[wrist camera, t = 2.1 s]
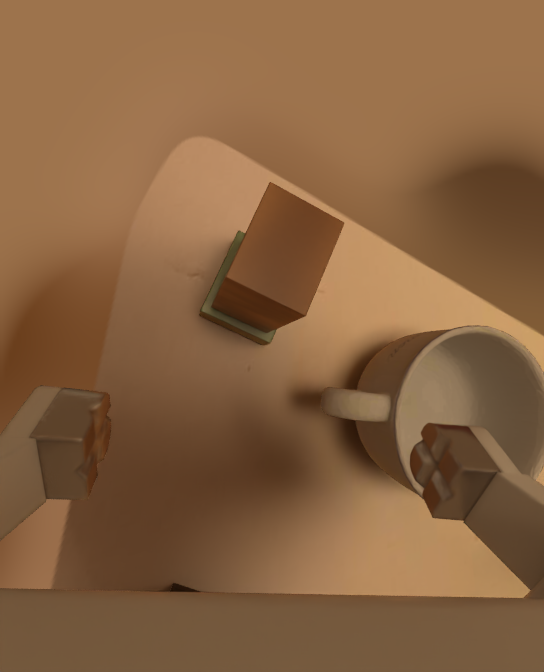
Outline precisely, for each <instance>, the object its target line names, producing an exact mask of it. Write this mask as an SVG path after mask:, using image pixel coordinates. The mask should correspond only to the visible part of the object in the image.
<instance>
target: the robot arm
mask: <svg viewBox="0 0 544 672" xmlns="http://www.w3.org/2000/svg"><path fill="white" fill-rule="evenodd" d="M110 406H111V404H110V395H109V394H108V393H106V392H98V391H89V390H80V389H71V388H59V387H50V386H39V387H37V388H35V390H34V391H33V392H32V393H31V395H30V396H29V397H28V399H27V400H26V401H25V402H24V404H23V405H22V407H21V408H20V409H19V410H18V412H17V413H16V414H15V416H14V417H13V418H12V420H11V421H10V422H9V424H8V425H7V426H6V428H5V429H4V430H3V432H2V433H1V434H0V540H2V539H3V538H4V537H5V536H6V535H7V534H9V533H10V532H11V531H12V530H13V529H14V528H16V527H17V526H18V525H19V524H20V523H21V522H23V521H24V520H25V519H26V518H27V517H28V516H30V515H31V514H32V513H33V512H34V511H35V510H37V509H38V508H39V507H40V506H41V505H43V504H44V503H45V502H46V499H69V500H88V498H89V496H90V493H91V491H92V488H93V486H94V483H95V481H96V478H97V476H98V471H97V464H98V463H100V462H101V461H103V460H104V458H105V455H106V453H107V450H108V446H109V442H110V438H111V419H110V418H109V417H108V416H107V413H108V411H109V409H110ZM421 436H422V439H423V440H421V441H420V442H418V443H417V444H415V445H414V447H413V449H412V452H411V454H410V468H411V472H412V475H413V477H414V479H415V481H416V482H417V483H419V484H420V485H421V486H422V487H423V488H424V490H423V493H422V496H423V498H424V500H425V503H426V505H427V507H428V509H429V511H430V513H431V515H432V517H433V518H439V519H451V520H463V521H464V523H465V524H466V525H467V526H468V527H469V528H470V529H471V530H472V531H473V532H474V533H475V534H476V535H477V536H478V537H479V538H480V539H481V541H482V542H483V543H484V544H485V545H486V546H487V547H488V548H489V549H490V550H491V551H492V552H493V553H494V554H495V555H496V556H497V557H498V558H499V559H500V560H501V561H502V562H503V563H504V564H505V565H506V566H507V567H508V568H509V569H510V570H511V571H512V572H513V573H514V574H515V575H516V576H517V577H518V578H519V579H520V580H521V581H522V582H523V583H524V584H525V585H526V586H527V587H528V588H529V589H530V590H531V591H530V592H529V593H528V594H527V595H526V596H525V597H524V598H486V597H431V596H377V595H322V594H268V593H214V592H161V591H109V590H56V589H4V588H3V589H2V588H0V672H544V486H543V485H542V484H540V483H539V482H537V481H536V480H534V479H533V478H531V477H530V476H528V475H526V474H521V473H520V471H519V470H518V469H517V468H516V466H515V465H514V464H513V462H512V461H511V460H510V459H509V457H508V456H507V455H506V453H505V452H504V451H503V450H502V448H501V447H500V446H499V445H498V443H497V442H496V441H495V439H494V438H493V437H492V436H491V434H490V433H489V432H488V430H486V429H485V428H483V427H482V426H471V425H454V424H442V423H430V422H429V423H427V424H426V425H425V426H424V427H423V429H422V431H421Z"/></svg>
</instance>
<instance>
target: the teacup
mask: <svg viewBox="0 0 544 672" xmlns="http://www.w3.org/2000/svg"><path fill="white" fill-rule="evenodd" d="M321 409H322V411H323V412H324V413H325V414H327V415H331V416H335V417H340V418H344V419H352V420H355V422H356V427H357V431H358V434H359V437H360V440H361V442H362V444H363V446H364V447H365V449H366V451H367V453H368V454H369V455H370V457H371V458H372V459H373V460H374V462H375V463H376V464H377V465H378V466H379V467H380V468H381V469H382V470H383V471H385V472H386V473H387V474H388V475H390V476H391V477H392V478H394V479H395V480H396V481H398V482H399V483H401V484H402V485H404V486H405V487H407V488H408V489H410V490H411V491H413V492H415V493H416V494H418V495H419V496H420V497H421V498H423V496H422V493H423V490H424V488H423V487H422V486H421V485H420V484H419V483H417V482H416V481H415V479H414V477H413V475H412V472H411V468H410V454H411V452H412V449H413V447H414V445H415V444H417V443H418V442H420V441H421V440H423V439H422V436H421V431H422V429H423V427H424V426H425V425H426V424H427V423H429V422H430V423H442V424H454V425H471V426H482V427H483V428H485V429H486V430H488V432H489V433H490V434H491V436H492V437H493V438H494V439H495V441H496V442H497V443H498V445H499V446H500V447H501V448H502V450H503V451H504V452H505V453H506V455H507V456H508V457H509V459H510V460H511V461H512V462H513V464H514V465H515V466H516V468H517V469H518V470H519V471H520V473H521V474H526V475H528V476H530V477H531V478H533V479H534V480H536V479H537V478H538V476H539V474H540V472H541V471H542V468H543V466H544V372H543V371H542V369H541V367H540V365H539V364H538V362H537V361H536V359H535V358H534V356H533V355H532V354H531V353H530V351H529V350H528V349H527V348H526V347H525V346H524V345H522V344H521V343H520V342H519V341H518V340H517V339H515V338H513V337H512V336H511V335H509V334H507V333H505V332H503V331H500V330H497V329H495V328H492V327H488V326H479V325H477V326H464V327H458V328H454V329H450V330H439V331H430V332H423V333H418V334H413V335H409V336H406V337H403V338H400V339H398V340H396V341H394V342H392V343H390V344H389V345H387V346H385V347H384V348H383V349H382V350H380V351H379V352H378V353H377V354H376V355H375V356H374V357H373V358H372V359H371V361H370V362H369V363H368V365H367V366H366V368H365V369H364V371H363V373H362V375H361V378H360V380H359V383H358V386H357V390H348V389H339V388H332V387H327V388H325V389H324V390H323V392H322V396H321ZM423 499H424V498H423Z"/></svg>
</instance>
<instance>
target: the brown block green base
mask: <svg viewBox="0 0 544 672" xmlns="http://www.w3.org/2000/svg"><path fill="white" fill-rule="evenodd" d="M343 226H344V222H342V221H340V220H339V219H337V218H335V217H333V216H331V215H329V214H328V213H326V212H324V211H322V210H320V209H319V208H317V207H315V206H313V205H311V204H309V203H308V202H306V201H304V200H302V199H300V198H299V197H297V196H295V195H293V194H291V193H289V192H288V191H286V190H284V189H282V188H280V187H279V186H277V185H275V184H273V183H271V182H270V183H269V185H268V187H267V189H266V191H265V193H264V195H263V197H262V200H261V202H260V204H259V206H258V208H257V210H256V212H255V214H254V217H253V219H252V221H251V223H250V225H249V227H248V229H247V231H246V233H243V232H241V231H238V232H237V234H236V237H235V239H234V241H233V243H232V245H231V247H230V249H229V251H228V253H227V256H226V258H225V260H224V262H223V264H222V266H221V268H220V270H219V272H218V274H217V277H216V279H215V281H214V283H213V285H212V287H211V289H210V291H209V293H208V296H207V298H206V300H205V302H204V304H203V306H202V308H201V310H200V313H199V315H200V316H202V317H204V318H206V319H208V320H210V321H212V322H214V323H217V324H219V325H221V326H223V327H225V328H227V329H230V330H232V331H234V332H236V333H238V334H240V335H243V336H245V337H247V338H249V339H251V340H253V341H255V342H258V343H260V344H262V345H266V344H270V343H271V341H272V339H273V336H274V334H275V332H276V330H277V328H280V327H282V326H284V325H286V324H289V323H291V322H293V321H295V320H298V319H300V318H302V317H304V316H306V314H307V312H308V309H309V307H310V305H311V302H312V300H313V297H314V295H315V293H316V290H317V288H318V285H319V283H320V281H321V278H322V276H323V273H324V271H325V269H326V266H327V264H328V261H329V259H330V257H331V254H332V252H333V250H334V247H335V245H336V242H337V240H338V238H339V235H340V233H341V230H342V228H343Z"/></svg>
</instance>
